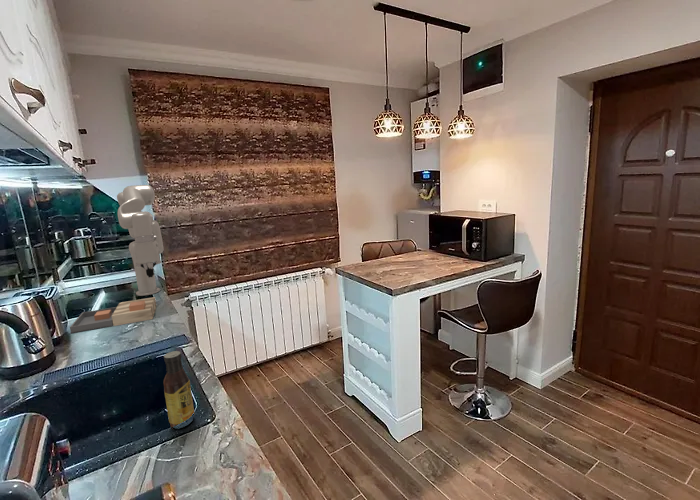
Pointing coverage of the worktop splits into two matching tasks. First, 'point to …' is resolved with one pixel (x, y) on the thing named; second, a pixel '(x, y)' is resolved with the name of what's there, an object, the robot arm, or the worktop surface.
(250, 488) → the worktop surface
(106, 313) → the tile
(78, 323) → the box
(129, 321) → the bench plate
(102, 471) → the worktop surface
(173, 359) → the sauce bottle
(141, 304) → the tile
